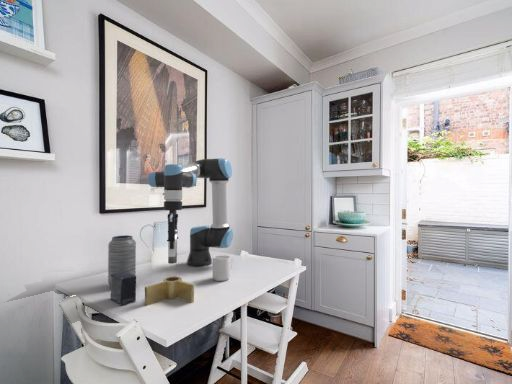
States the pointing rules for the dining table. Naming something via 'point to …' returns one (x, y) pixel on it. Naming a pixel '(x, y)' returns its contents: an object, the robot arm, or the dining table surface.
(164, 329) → the dining table surface
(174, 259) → the pin
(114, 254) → the vase
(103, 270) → the dining table surface
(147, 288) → the hinge
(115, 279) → the small box
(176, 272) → the dining table surface
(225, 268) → the mug
